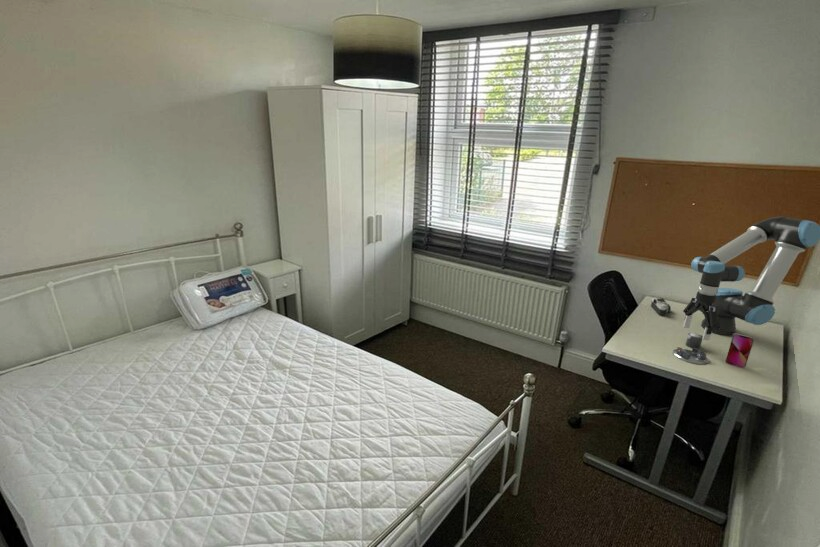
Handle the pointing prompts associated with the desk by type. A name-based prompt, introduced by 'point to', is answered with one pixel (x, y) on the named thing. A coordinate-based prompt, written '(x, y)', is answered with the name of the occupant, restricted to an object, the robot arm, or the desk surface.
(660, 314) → the camera
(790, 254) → the robot arm
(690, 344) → the dark grey short cylinder
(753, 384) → the desk surface
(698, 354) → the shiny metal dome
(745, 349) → the smartphone
